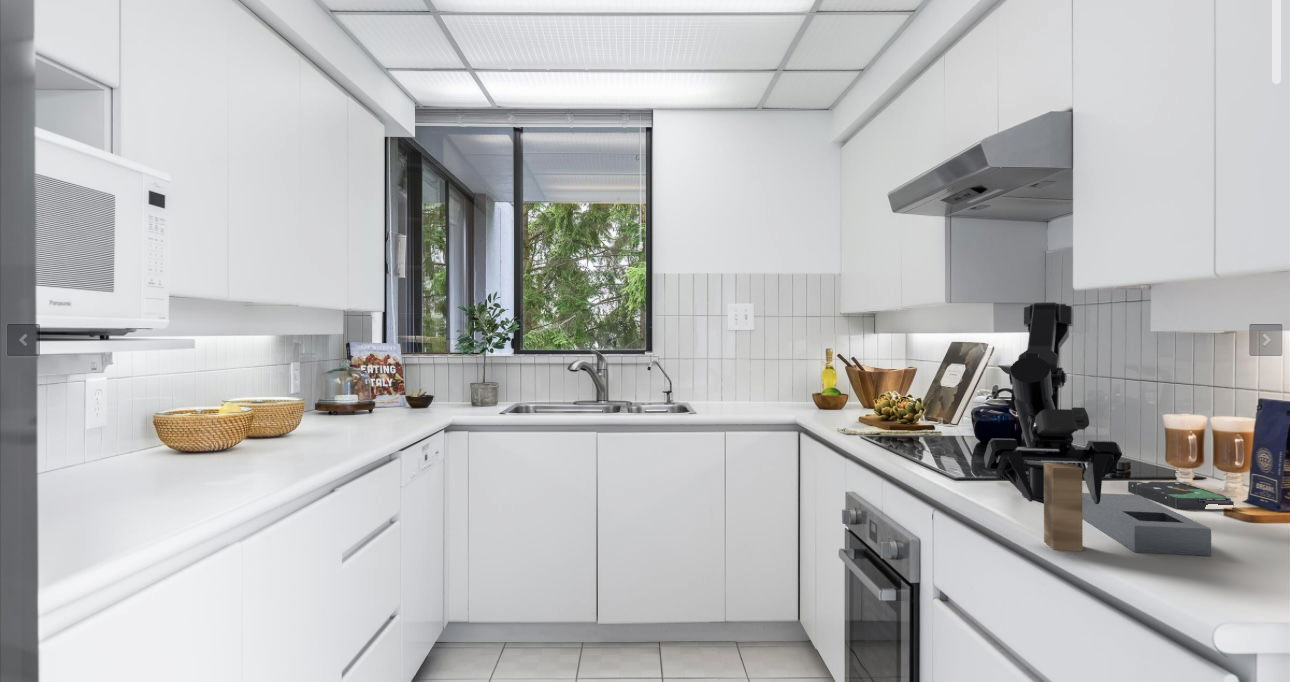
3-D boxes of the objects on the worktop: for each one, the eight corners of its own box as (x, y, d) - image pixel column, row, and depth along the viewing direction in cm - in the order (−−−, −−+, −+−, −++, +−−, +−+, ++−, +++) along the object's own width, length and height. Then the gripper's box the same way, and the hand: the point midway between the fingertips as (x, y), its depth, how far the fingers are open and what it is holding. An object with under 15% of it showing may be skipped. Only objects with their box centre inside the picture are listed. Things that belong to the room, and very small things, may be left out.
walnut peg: (1044, 541, 109) (1043, 462, 109) (1072, 543, 108) (1071, 463, 108) (1053, 549, 105) (1053, 467, 105) (1082, 551, 105) (1082, 468, 104)
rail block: (1075, 514, 125) (1075, 492, 125) (1138, 517, 123) (1138, 494, 123) (1134, 552, 104) (1134, 525, 104) (1211, 556, 102) (1211, 528, 102)
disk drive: (1126, 494, 143) (1176, 512, 128) (1126, 481, 143) (1176, 496, 128) (1179, 494, 142) (1235, 512, 128) (1178, 481, 142) (1235, 497, 128)
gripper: (988, 389, 113) (1009, 469, 102) (1116, 390, 109) (1152, 473, 98) (976, 430, 121) (994, 509, 110) (1095, 433, 117) (1126, 515, 106)
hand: (1064, 501), depth 106 cm, fingers open, 9 cm apart
